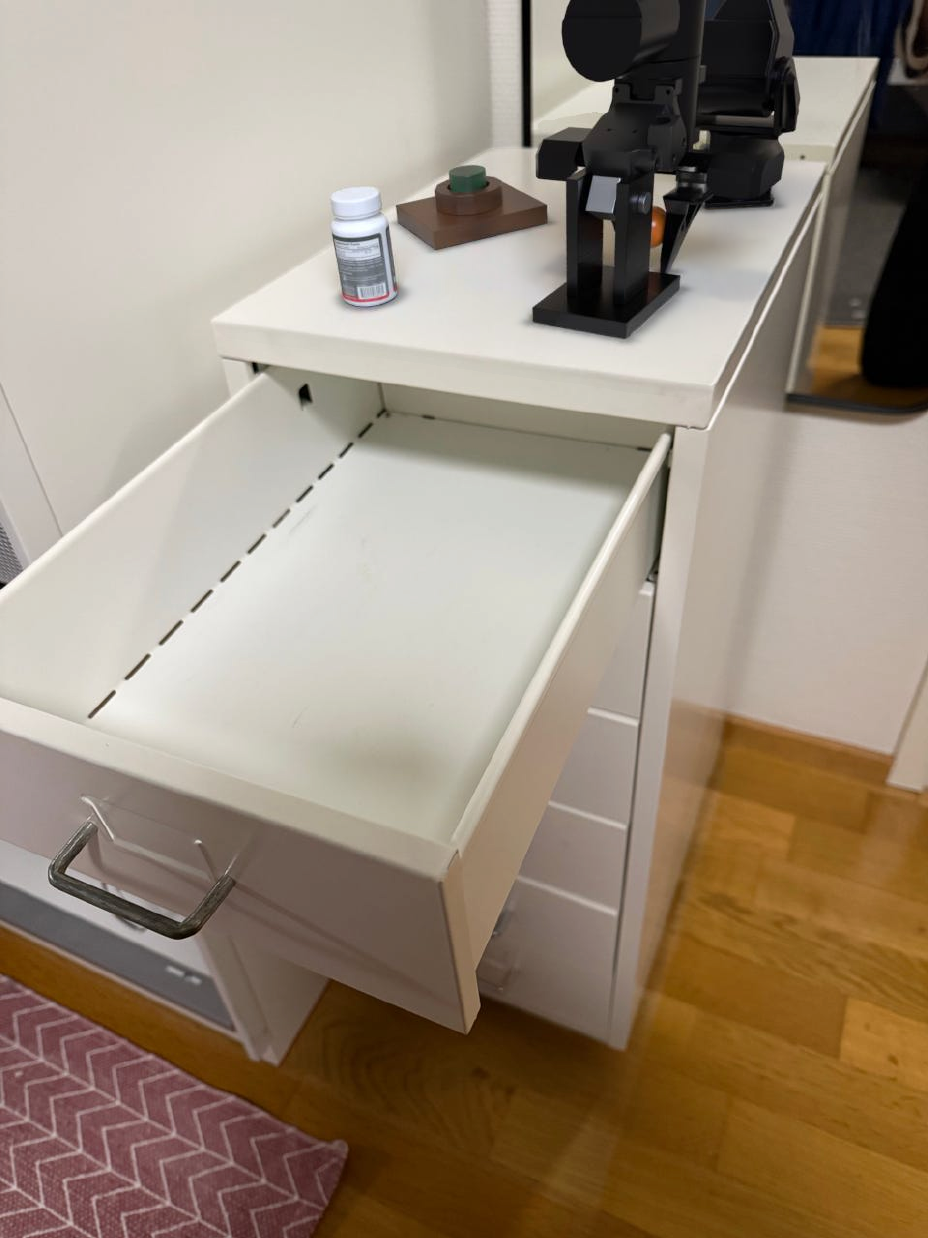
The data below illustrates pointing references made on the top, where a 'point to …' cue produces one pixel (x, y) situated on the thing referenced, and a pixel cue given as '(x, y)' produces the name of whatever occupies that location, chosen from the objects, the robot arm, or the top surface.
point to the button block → (470, 213)
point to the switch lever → (605, 206)
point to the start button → (467, 178)
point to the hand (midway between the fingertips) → (647, 271)
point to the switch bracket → (606, 291)
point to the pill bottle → (363, 247)
